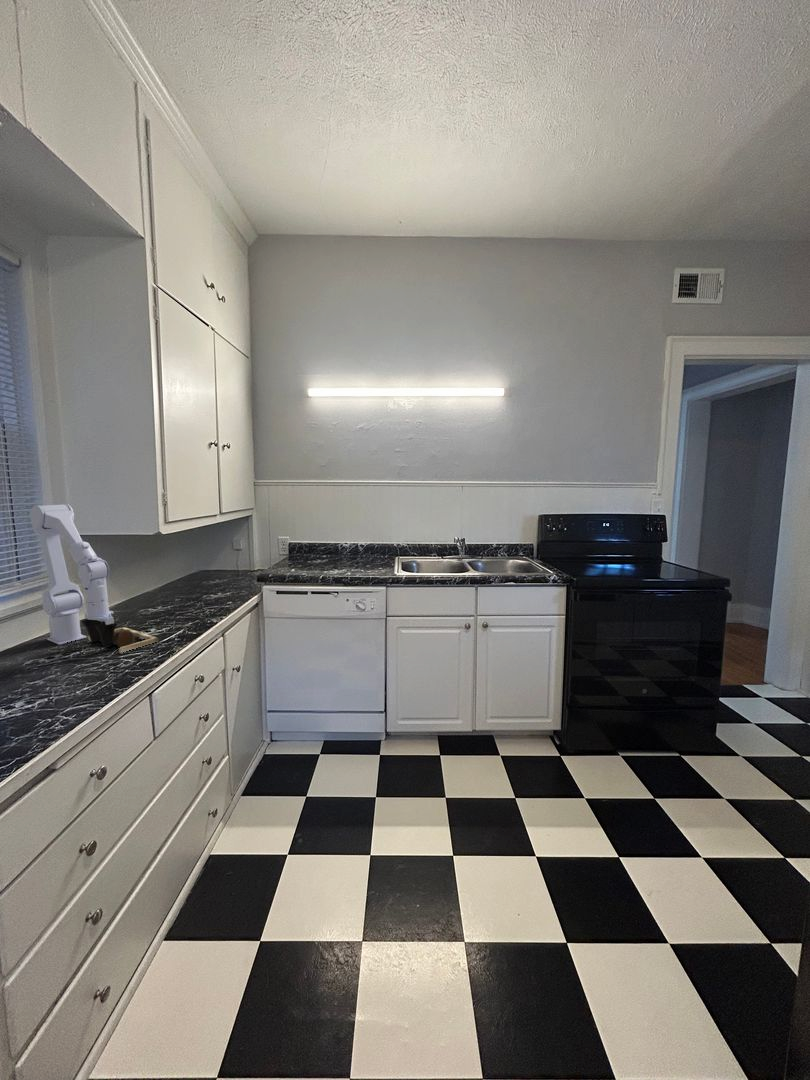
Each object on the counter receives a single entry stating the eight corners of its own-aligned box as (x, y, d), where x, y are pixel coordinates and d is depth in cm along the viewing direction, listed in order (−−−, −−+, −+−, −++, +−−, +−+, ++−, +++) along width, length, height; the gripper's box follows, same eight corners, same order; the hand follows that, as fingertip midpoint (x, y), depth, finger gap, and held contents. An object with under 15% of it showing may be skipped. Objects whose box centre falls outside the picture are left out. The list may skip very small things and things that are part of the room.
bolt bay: (88, 640, 153) (87, 636, 153) (124, 631, 162) (124, 626, 162) (121, 653, 141) (120, 648, 141) (158, 642, 150) (157, 637, 150)
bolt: (102, 644, 155) (129, 650, 148) (87, 641, 151) (114, 646, 144) (109, 627, 157) (136, 631, 150) (94, 623, 153) (122, 628, 146)
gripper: (122, 600, 144) (126, 643, 146) (100, 594, 152) (104, 635, 154) (97, 605, 138) (101, 650, 140) (75, 599, 146) (80, 641, 148)
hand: (101, 643), depth 146 cm, fingers open, 7 cm apart
